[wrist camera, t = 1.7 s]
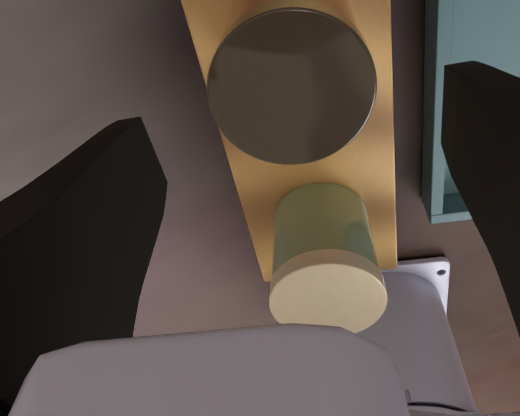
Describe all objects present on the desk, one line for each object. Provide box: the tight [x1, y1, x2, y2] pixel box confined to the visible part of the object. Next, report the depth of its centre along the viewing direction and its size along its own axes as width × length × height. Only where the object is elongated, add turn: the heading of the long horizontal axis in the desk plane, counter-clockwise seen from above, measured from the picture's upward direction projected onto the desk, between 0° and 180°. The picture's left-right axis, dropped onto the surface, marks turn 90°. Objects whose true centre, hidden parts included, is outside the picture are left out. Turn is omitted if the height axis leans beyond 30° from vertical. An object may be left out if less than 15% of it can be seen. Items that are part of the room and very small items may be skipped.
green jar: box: [269, 183, 388, 333], centre depth 20 cm, size 5×5×5 cm
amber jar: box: [206, 0, 377, 165], centre depth 15 cm, size 5×5×5 cm
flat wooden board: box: [181, 0, 398, 282], centre depth 20 cm, size 18×7×4 cm, turn 12°
